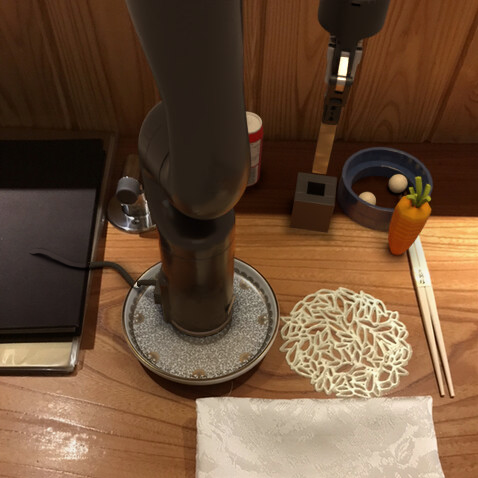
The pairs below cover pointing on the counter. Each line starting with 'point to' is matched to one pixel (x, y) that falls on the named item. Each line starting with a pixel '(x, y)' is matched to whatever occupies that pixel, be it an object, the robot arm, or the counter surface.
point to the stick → (323, 148)
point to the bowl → (377, 164)
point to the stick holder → (313, 202)
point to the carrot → (409, 218)
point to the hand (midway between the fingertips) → (330, 116)
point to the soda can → (255, 145)
